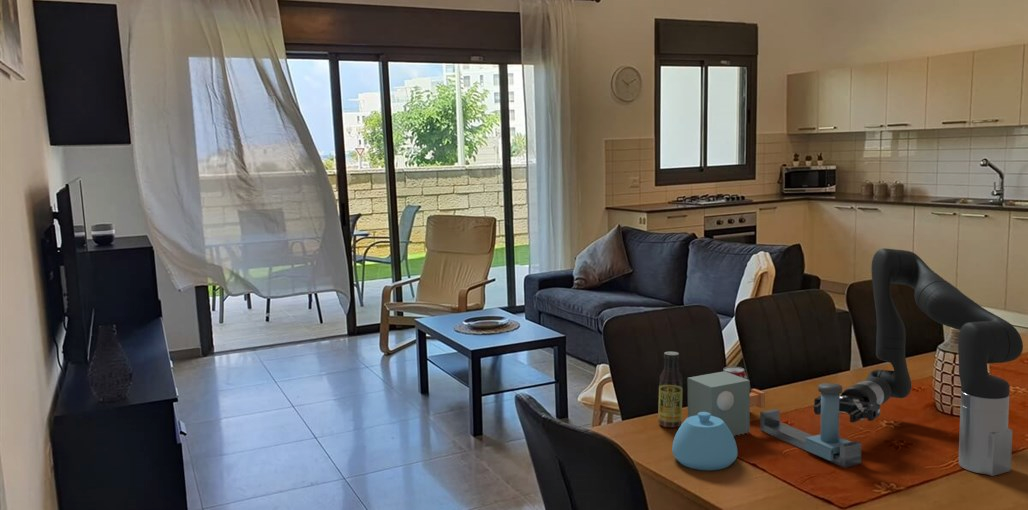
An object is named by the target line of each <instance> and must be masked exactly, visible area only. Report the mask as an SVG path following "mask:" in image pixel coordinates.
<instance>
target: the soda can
mask: <svg viewBox="0 0 1028 510" xmlns="http://www.w3.org/2000/svg"><path fill="white" fill-rule="evenodd" d="M722 371H725V372H728V373H731V374H733V375H736V376H739V377H742V378H744V379H747V380H748V375H747V373H746V372H745V371H746V369H745V368H743V367H742V366H741V367H740V366H733V365H731V366H725V367H724V368H723V370H722Z"/></svg>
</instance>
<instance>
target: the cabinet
mask: <svg viewBox="0 0 1028 510" xmlns="http://www.w3.org/2000/svg"><path fill="white" fill-rule="evenodd" d="M686 378H687V379H686V380H687V381H686V382H687V418H688V417H691V416H696V415H698V413H699V412H708V413H710V414H711V416H714V417H718V418H720V419H721V420H723V421H724V423H725V424H726V425H727V427H728V428H729V430H730V431H731V433H732V435H733V437H736V436H735V435H738V436H741V435H740V434H742V435H744V434H743V433H747V434H749V433H748V432H750V431H751V429H750V424H751V422H750V421H751V419H750V418H751V417H750V414H751V412H750V409H751V408H750V393H751V389H750V387H751V385H750V383H751V381H750V379H748V378H747V379H744V378H742V377H739V376H736V375H733V374H731V373H728V372H725V371H724V370H722V371H718V372H717V371H716V372H713V373H706V374H700V375H696V376H691V377H686ZM750 433H751V432H750Z"/></svg>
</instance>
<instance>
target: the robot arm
mask: <svg viewBox="0 0 1028 510" xmlns="http://www.w3.org/2000/svg"><path fill="white" fill-rule="evenodd" d="M871 260H872V261H871V269H870V270H871V281H872V290H873V299H874V307H875V315H876V338H875V339H876V340H875V341H876V342H875V343H876V345H875V355H876V356H875V357H876V358H877V359H878V360H880V361H884V362H887V363H889V364H891V366H892V368H893V370H889V369H873V370H871V371H870V372H868V375H867V377H866V379H865V380H863V381H859V382H857V383H855V384H853V385H851V386H849V387H847V388H846V389H845V390H842V393H841V394H840V395H839V413H843V414H845V413H846V414H848V415H849V422H850V423H853V424H854V423H856V422H859V421H860V420H861V421H863V420H865V419H867V421H870V422H873V421H874V420H876V419H877V418H878V417H880V416H881V405H883V404H885V403H887V401H888V400H889V399H891V398H895V399H905V398H906V397H908V396H909V395H910V393H911V392H912V391H911V390H912V380H911V377H910V373H909V369H908V364H907V360H906V338H907V337H906V327H905V324H904V321H903V320H902V318H901V315H900V313H899V312H898V310H897V308H896V306H895V304H894V300H893V299H892V294H891V284H895V285H903V286H908V287H910V288H912V289H914V301H915V303H916V306H917V307H918V308H919V309H920V310H921V311H922V312H923V313H924V314H926V315H927V316H928V318H930V319H931V320H933V321H934V322H937V323H938V324H940V325H944V326H946V327H949V328H952V329H955V330H957V331H959V332H958V341H957V342H958V343H957V344H958V345H957V347H958V348H957V353H958V354H957V355H958V375H959V382H960V406H959V407H960V410H959V411H960V413H959V433H958V434H959V435H958V436H959V439H958V441H959V442H958V465H959V466H960V467H961V468H963V469H965V470H967V471H969V472H973V473H977V474H983V475H988V476H991V477H995V476H997V475H1001V474H1004V473H1008V472H1011V471H1012V449H1013V430H1012V429H1011V428H1009V410H1010V393H1011V392H1010V391H1011V390H1010V384H1009V382H1008V381H1007V380H1006V379H1004V378H1001V377H998V376H995V375H993V374H992V375H991V374H989V372H988V371H989V370H988V364H1002V363H1003V364H1004V363H1009V362H1013V361H1015V360H1017V359H1018V358H1019V357H1020V356H1021V354H1022V352H1023V350H1024V349H1023V348H1024V345H1023V344H1024V342H1023V339H1022V336H1021V334H1020V333H1019V331H1018V330H1017V328H1016V327H1015V326H1014V325H1013V324H1011V323H1010V322H1009V321H1007V320H1005V319H1003V318H1002V317H1000V316H998V315H996V314H994V313H993V312H990V311H989V310H987V309H986V308H984V307H983V306H981V305H979V304H978V303H977V302H975V301H974V300H973V299H971V298H970V297H969V296H967V295H966V294H964V293H962V291H961V290H960V289H958V288H957V287H955V286H954V285H953V284H952V283H950V282H949V281H947V280H945V279H944V277H942V276H940V275H939V274H938V273H936V272H935V271H934V270H933V269H931V268H930V267H929V266H928V265H927V263H926V262H925V261H924V260H923V259H922V258H921V257H920V256H919V255H918V254H917V253H916V252H915V253H914V252H913V251H910V250H903V249H895V248H879V249H878V250H877V251H876V252H875V253H874V254H873V257H872V259H871ZM813 399H814V401H813V404H814V405H813V413H814V415H816V416H818V415H821V395H820V396H817V397H815V398H813Z"/></svg>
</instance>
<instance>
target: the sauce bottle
mask: <svg viewBox="0 0 1028 510" xmlns="http://www.w3.org/2000/svg"><path fill="white" fill-rule="evenodd" d="M663 353H664V354H663V359H664V364H663V365H664V366H663V370H662V371H661V374H660V375H659V385H658V411H657V412H658V413H657V418H658V424H659V426H662V427H664V428H669V429H671V428H678V427H679V428H680V426H681V425H682V419H683V418H682V417H683V390H684V388H683V376H682V373H681V372H680V370H679V359H680V353H679V352H678V351H665V352H663Z"/></svg>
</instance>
